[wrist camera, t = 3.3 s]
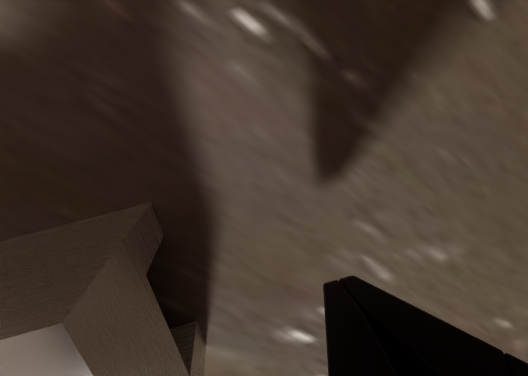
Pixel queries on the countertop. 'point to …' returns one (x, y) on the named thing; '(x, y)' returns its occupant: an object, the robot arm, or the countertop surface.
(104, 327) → the grey cube with knob
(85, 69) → the countertop surface
